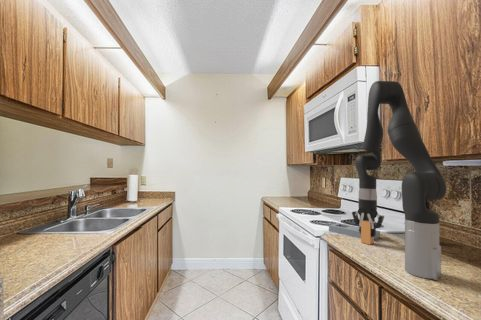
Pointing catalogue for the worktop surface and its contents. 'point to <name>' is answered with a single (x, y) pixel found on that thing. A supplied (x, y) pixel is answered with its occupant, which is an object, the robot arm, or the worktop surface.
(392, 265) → the worktop surface
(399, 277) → the worktop surface
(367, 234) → the orange plug
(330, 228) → the slate power strip
